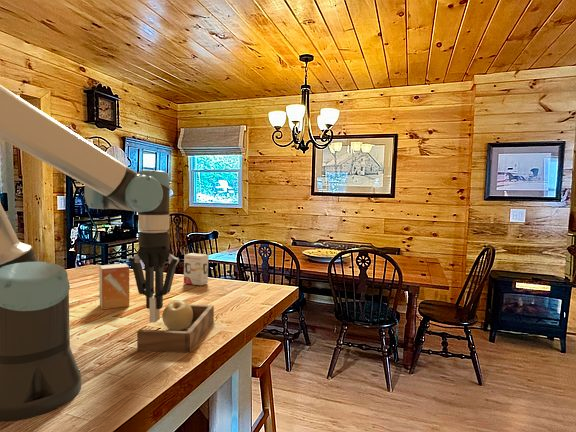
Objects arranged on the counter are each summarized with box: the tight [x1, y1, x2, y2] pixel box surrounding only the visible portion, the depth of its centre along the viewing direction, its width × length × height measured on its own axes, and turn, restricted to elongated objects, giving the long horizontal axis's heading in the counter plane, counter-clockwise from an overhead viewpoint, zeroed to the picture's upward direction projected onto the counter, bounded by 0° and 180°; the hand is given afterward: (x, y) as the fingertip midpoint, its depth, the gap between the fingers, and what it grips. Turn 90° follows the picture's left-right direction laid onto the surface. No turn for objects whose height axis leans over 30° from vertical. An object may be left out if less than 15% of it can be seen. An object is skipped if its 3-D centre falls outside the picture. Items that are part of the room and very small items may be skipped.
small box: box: [98, 262, 130, 310], centre depth 119 cm, size 8×6×13 cm
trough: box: [136, 304, 215, 353], centre depth 96 cm, size 21×12×4 cm, turn 177°
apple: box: [161, 299, 193, 331], centre depth 99 cm, size 8×8×8 cm
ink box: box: [183, 252, 209, 286], centre depth 149 cm, size 9×5×12 cm, turn 70°
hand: (154, 320), depth 97 cm, fingers closed
